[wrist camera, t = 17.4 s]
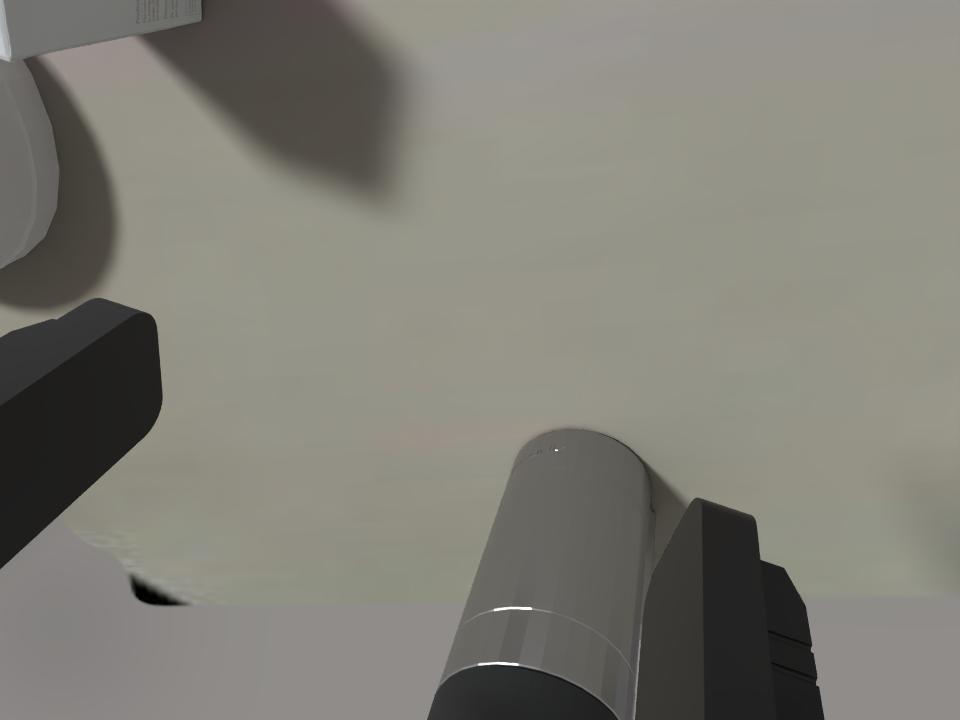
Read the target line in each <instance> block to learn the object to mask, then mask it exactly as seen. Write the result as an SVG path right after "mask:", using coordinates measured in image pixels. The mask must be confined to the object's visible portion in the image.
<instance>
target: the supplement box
mask: <svg viewBox="0 0 960 720" xmlns="http://www.w3.org/2000/svg"><path fill="white" fill-rule="evenodd" d="M200 21H202V5H201V0H0V59H2V60H4V61H7V62H15V61H18V60H22V59H25V58H29V57H33V56H37V55H42V54H47V53H51V52H56V51H60V50H65V49H70V48H76V47H81V46H86V45H91V44H96V43H100V42H105V41H111V40H116V39H120V38H125V37H130V36H136V35H141V34H146V33H150V32H155V31H160V30H165V29H169V28H173V27H177V26H182V25H187V24H191V23H196V22H200Z"/></svg>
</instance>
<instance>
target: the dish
mask: <svg viewBox="0 0 960 720" xmlns="http://www.w3.org/2000/svg"><path fill="white" fill-rule="evenodd" d="M59 172H60V169H59V164H58V158H57V152H56V147H55V141H54V135H53V130H52V124H51V122H50V119H49V117H48V114H47V112H46V109H45V107H44V104H43V101H42V99H41V96H40V94H39V91H38V89H37V86H36V83H35V81H34V78H33V76H32V74H31V72H30V70H29V69H28V67H27V65H26V64H25V62H24V60H23V59H22V60H18V61H15V62H7V61H4V60H2V59H0V269H1V268H4V267H5V266H6V265H8V264H10V263H12V262H14V261H16V260H18V259H20V258H22V257H24V256H26V255H27V254H28V253H29V252H30V251H31V250H32V249H33V248H34V247H35V246H36V245H37V244H38V243H39V242H40V241H42V240H43V239H44V238H45V236H46V234H47V231H48V229H49V226H50V224H51V222H52V219H53V217H54V214H55V212H56V209H57V201H58V187H59Z"/></svg>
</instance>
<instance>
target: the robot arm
mask: <svg viewBox="0 0 960 720" xmlns="http://www.w3.org/2000/svg"><path fill="white" fill-rule="evenodd" d="M162 399H163V395H162V382H161V369H160V357H159V345H158V332H157V325H156V322H155V320H154V318H153V317H152V316H151V315H150V314H148V313H146V312H143V311H140V310H137V309H134V308H131V307H128V306H125V305H122V304H119V303H115V302H112V301H109V300H106V299H103V298H94V299H91V300H89V301H87V302H85V303H83V304H82V305H80V306H78V307H77V308H75V309H73V310H72V311H70V312H69V313H67V314H65V315H64V316H62V317H60V318H59V319H57V320H55V319H50V320H47V321H44V322H41V323H37V324H34V325H31V326H28V327H24V328H21V329H18V330H14V331H11V332H9V333H8V334H6V335H4V336H2V337H1V338H0V569H1V568H2V567H3V566H4V565H5V564H6V563H7V562H9V561H10V560H11V559H12V558H13V557H14V556H15V555H16V554H17V553H18V552H19V551H20V550H22V549H23V548H24V547H25V546H26V545H27V544H28V543H29V542H30V541H31V540H33V539H34V538H35V537H36V536H37V535H38V534H39V533H40V532H41V531H42V530H44V528H46V527H47V526H48V525H49V524H50V523H51V522H52V521H53V520H54V519H56V518H57V517H58V516H59V515H60V514H61V513H62V512H63V511H64V510H65V509H66V508H67V507H69V506H70V505H71V504H72V503H73V502H74V501H75V500H76V499H77V498H78V497H79V496H81V495H82V494H83V493H84V492H85V491H86V490H87V489H88V488H89V487H90V486H91V485H93V484H94V483H95V482H96V481H97V480H98V479H99V478H100V477H101V476H102V475H103V474H105V473H106V472H107V471H108V470H109V469H110V468H111V467H112V466H113V465H114V464H115V463H117V462H118V461H119V460H120V459H121V458H122V457H123V456H124V455H125V454H126V453H127V452H129V451H130V450H131V449H132V448H133V447H134V446H135V445H136V444H137V443H138V442H139V441H141V440H142V439H143V438H144V437H145V436H146V435H147V434H148V432H149V431H150V430H151V428H152V427H153V425H154V424H155V422H156V420H157V418H158V415H159V413H160V410H161V406H162ZM650 498H651V486H650V479H649V477H648V474H647V472H646V470H645V467H644V466H643V465H642V463H641V462H640V460H639V459H638V458H637V456H636V455H634V454H633V453H632V452H631V451H630V450H629V449H628V448H627V447H625V446H624V445H622V444H621V443H619V442H617V441H616V440H614V439H612V438H610V437H607V436H605V435H602V434H600V433H596V432H591V431H587V430H578V429H564V430H557V431H552V432H549V433H546V434H543V435H540V436H538V437H537V438H535V439H533V440H532V441H530V442H529V443H528V444H527V445H526V446H525V447H524V448H523V449H522V450H521V451H520V453H519V454H518V456H517V458H516V459H515V462H514V465H513V468H512V471H511V474H510V477H509V480H508V483H507V486H506V489H505V491H504V494H503V497H502V500H501V503H500V505H499V508H498V511H497V514H496V517H495V520H494V523H493V526H492V529H491V532H490V535H489V538H488V541H487V544H486V547H485V550H484V553H483V555H482V558H481V561H480V564H479V567H478V570H477V573H476V576H475V579H474V582H473V585H472V588H471V591H470V594H469V597H468V600H467V602H466V605H465V608H464V611H463V614H462V617H461V620H460V623H459V626H458V629H457V632H456V635H455V638H454V641H453V644H452V647H451V651H450V653H449V656H448V659H447V662H446V665H445V668H444V671H443V674H442V677H441V680H440V683H439V685H438V688H437V691H436V694H435V697H434V700H433V703H432V706H431V709H430V713H429V716H428V719H427V720H633V716H634V703H635V702H634V701H635V686H636V674H637V661H638V647H639V640H640V639H641V649H640V661H639V674H638V687H637V701H636V714H635V720H824V714H823V708H822V702H821V696H820V690H819V687H818V686H816V680H817V671H816V665H815V660H814V654H813V653H812V652H811V646H812V641H811V635H810V629H809V623H808V618H807V611H806V606H805V604H804V602H803V601H802V599H801V597H800V595H799V594H798V592H797V590H796V588H795V586H794V585H793V583H792V581H791V579H790V578H789V576H788V574H787V572H786V570H785V569H784V568H783V567H780V566H777V565H774V564H771V563H768V562H765V561H762V560H760V552H759V542H758V533H757V525H756V521H755V518H754V517H753V516H752V515H749V514H746V513H743V512H740V511H737V510H734V509H731V508H728V507H725V506H722V505H719V504H716V503H713V502H710V501H707V500H704V499H701V498H695V499H694V500H693V501H692V502H691V503H690V505H689V507H688V508H687V510H686V512H685V514H684V516H683V518H682V520H681V521H680V523H679V525H678V527H677V529H676V531H675V533H674V535H673V536H672V538H671V540H670V542H669V544H668V546H667V548H666V550H665V551H664V553H663V555H662V557H661V559H660V561H659V563H658V565H657V567H656V569H655V571H654V573H653V575H652V570H653V554H654V539H655V524H656V516H655V514H654V513H653V511H652V510H651V508H650Z"/></svg>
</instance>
